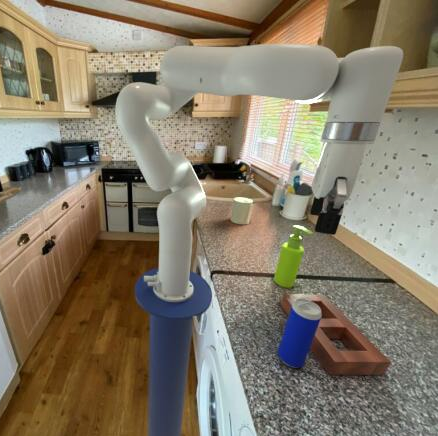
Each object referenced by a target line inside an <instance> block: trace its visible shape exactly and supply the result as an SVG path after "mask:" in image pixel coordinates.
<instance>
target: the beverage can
mask: <svg viewBox="0 0 438 436" xmlns="http://www.w3.org/2000/svg"><path fill="white" fill-rule="evenodd" d="M321 319H322V314H321V309H320V307H319V306H318V305H317V304H315V303H314V302H312V301H310V300H307V299H296V300H295V301H294V303H293V304H292V306H291V310H290V313H289V316H288V315H287V320H286V323H285V326H284V330H283V333H282V335H281V338H280V342H279V346H278V349H277V355H278V357H279V359H280V360H281V361H282V362H283V364H285V365H286V366H288V367H291V368H293V369H294V368H295V369H296V368H297V369H298V368H302V367H303V366H304V365H305V362H306V360H307V357H308V354H309V351H310V350H311V348H310V346H311V344H312V341H313V338H314V336H315V333H316V330H317V328H318V325H319V322H320V320H321Z"/></svg>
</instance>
